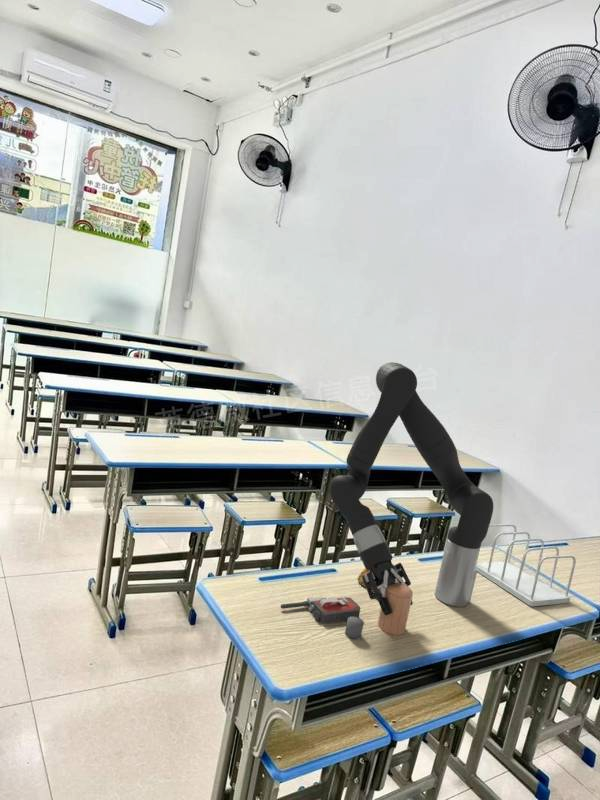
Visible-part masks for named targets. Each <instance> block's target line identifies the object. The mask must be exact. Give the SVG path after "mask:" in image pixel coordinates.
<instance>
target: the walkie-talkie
mask: <svg viewBox="0 0 600 800" xmlns="http://www.w3.org/2000/svg"><path fill="white" fill-rule="evenodd" d="M300 607H301V608H302V607H305V608H306V607H308V609H307V610H308V612H310V613H311V614H312V615H313V617H314V619H315V620H316V621H317V620H318V621H319V623H320V624H329V623H338V622H344V621H345V622H346V621H347V620H348V618H349V617H358V618H360V613H361V606H360V605H359V604H358V603H357V602H356V601H355V600H354V599H353V598H351V597H345V596H344V597H338V598H337V597H335V596H332V597H323V596H320V597H308V598H307V599H306V600H304V601H300V602H299V601H298V602H291V603H283V604H280V608H281V609H283V610H284V609H292V608H300Z"/></svg>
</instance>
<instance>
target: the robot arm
mask: <svg viewBox="0 0 600 800" xmlns="http://www.w3.org/2000/svg"><path fill="white" fill-rule="evenodd" d="M375 383H376V387H377V389H378V391H379V392H380V397H379V399H378V403H377V405H376V408H375V410H374V412H373V413H372V415H371V416H370V418H369V419H368V421H367V422H366V423H365V424H364V425H363V426H362V429H361V430H360V431H359V433H358V434H357V436H356V437H355V440H354V442H353V444H352V446H351V448H350V450H349V451H348V452H349V453H348V455H347V456H346V464H347V465H348V467H349V469H348V471H347V474H345V475H344V474H343V475H342V474H341V475H336V476H334V477H333V478H332V479H330V483H329V486H328V489H329V490H328V491H329V495H330V498H331V500H332V502H333V503H334V505H335V506H336V508H337V509H338V511H339V512H340V514H341V515H342V517H343V518H344V519H345V521H346V522H347V526H348V528H349V530H350V533H351V535H352V537H353V542H354V545H355V547H356V549H357V552H358V554H359V557H360V559H361V561H362V564H363V567H364V569H367V570H370V572H368V573H366V574H364V575H363V576H362V578H363V581H364V584H365V586H366V587H365V588H366V591H367V594H368V597H369V599H370V600H376V601H377V602H378V605H379V606H380V607H379V608H380V609H382V611H383V613H384V614H385V615H389V614H391V613H392V612H393V611H392V608H391V606H390V604H389V601H388V599H387V597H386V589H387V586H388V585H390V584H394V583H400V584H403V585H405V586H407V587H409V586H411V585H412V583H411V581H410V578H409V576H408V574H407V572H406V570H405V568H404V566H403V564H402V562H398V563H396V564H393V563H392V561H393V554H392V552H391V550H390V547H389V546H388V543H387V541H386V539H385V536H384V534H383V533H382V530H381V528H379V526H378V523H377V521H376V519H375V517H374V514H373V512H372V510H371V508H369V506H367V505H364V504H363V503H362V502H361V500H360V499H361V498H362V497H363V496H364V494H365V492H366V490H367V487H368V483H369V479H370V476H371V469H372V468H373V466H374V463H375V461H376V459H377V457H378V454H379V453H380V450H381V448H382V446H383V445H384V442H385V440H386V438H387V436H388V434H389V432H391V429H392V427H393V426H394V425H395V422H396V421H397V419H398V418H400V420H401V422H402V424H403V426H404V428H405V431H406V432H407V434H408V435H409V438H410V439H411V441H412V443H413V445H414V446H415V448H416V449H417V452H418V453H419V454H420V456H421V457H422V458H423V461H424V462H425V463H426V465H427V467H428V468H429V469H430V471H431V472H432V473H433V475H434V476H435V477H436V479H437V480H438V482H439V483H440V485H441V486H442V487H441V488H443V491H444V492H445V494H446V497H447V499H448V501H449V503H450V505H451V507H452V508H453V510H454V512H456V513H457V514H458V515H459V518H458V519H459V520H458V524H457V526H451V527H450V528H449V529H448V532H447V536H446V541H445V545H444V549H443V553H442V560H441V562H440V563H441V564H440V568H439V573H438V577H437V582H436V585H435V590H434V596H435V597H436V598H437V599H438V600H439V601H440V602H442V603H444V604H447V605H449V606H452V607H457V608H459V607H460V608H462V607H466V606H467V605H468V604H469V603H471V601H472V595H473V591H474V587H475V582H476V578H477V573H478V572H477V571H476V570H475V568H476V564H477V563H478V560H479V556H478V555H479V554H480V550H481V547H482V542H483V541H484V540H485V539H486V537H487V535H488V532H489V528H490V527H489V525H491V521H492V517H493V514H494V500H493V498H492V497H491V495H490V494H489V493H488V492H486V491H484V490H482V489H481V488H479V487H478V486H476V485H475V484H474V483H473V482H472V481H471V479H470V478H469V477H468V476H467V474H466V473H465V472H464V470H463V468H462V467H461V464H460V460H459V454H458V451H457V448H456V445H455V443H454V441H453V439H452V438H451V436H450V434H449V433H448V431H447V430H446V428H445V427H444V424H442V422H441V421H440V420H439V419H438V417H436V415H435V414H434V413H433V412H432V410H430V408H428V406H427V405H426V404H425V402H423V400H422V398H420V396H419V394H418V392H417V390H416V389H417V387H418V379H417V376H416V374H415V373H414V371H413V370H412V369H410V368H409V367H408V366H405V365H403V364H402V363H398V362H393V361H392V362H385V363H384V364H382V365H381V366H380V367H379V368H378V370H377V371H376V376H375ZM372 588H373V590H374V591H373V590H372ZM380 592H381V593H380ZM385 597H386V598H385ZM413 604H414V602H413V599H412V600H411V605H410V606H412V605H413Z"/></svg>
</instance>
